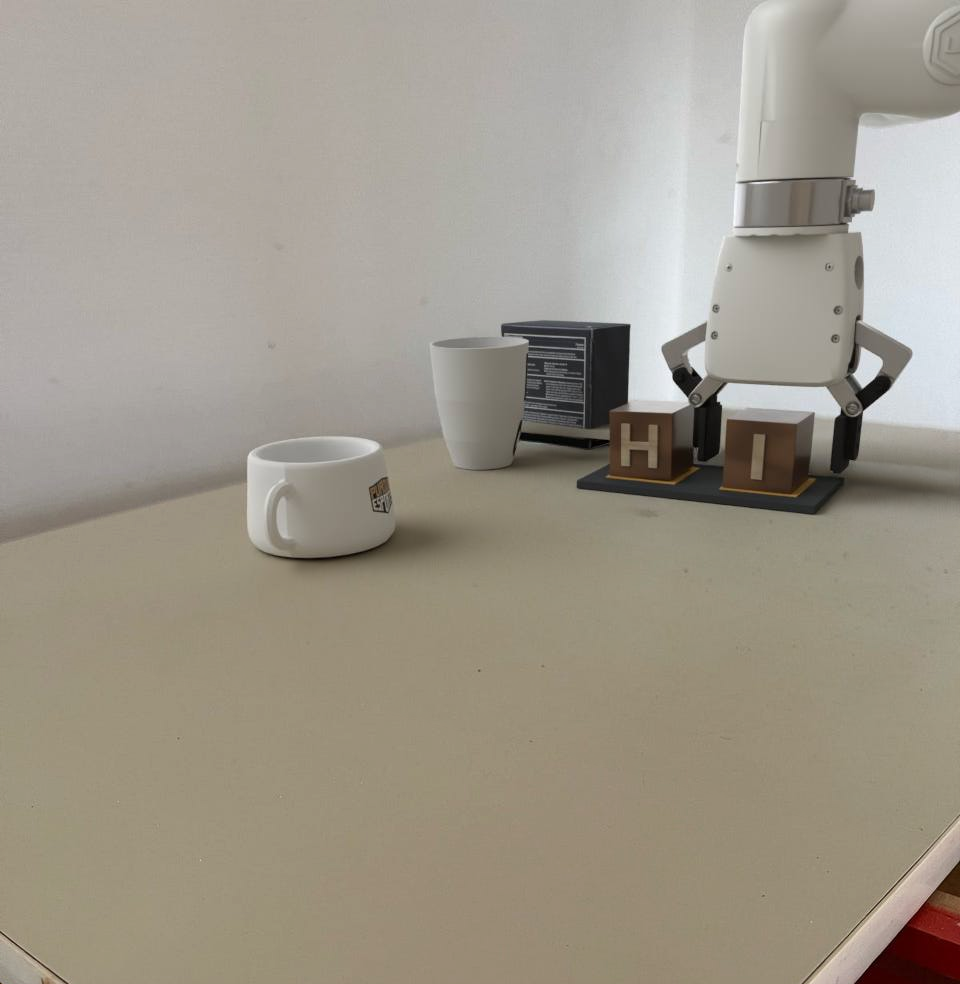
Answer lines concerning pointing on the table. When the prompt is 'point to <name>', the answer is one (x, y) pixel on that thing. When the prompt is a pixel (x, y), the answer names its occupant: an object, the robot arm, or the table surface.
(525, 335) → the small box
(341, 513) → the mug
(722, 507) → the table surface
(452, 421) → the cup
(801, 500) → the word mat
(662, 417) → the letter h block
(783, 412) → the block
